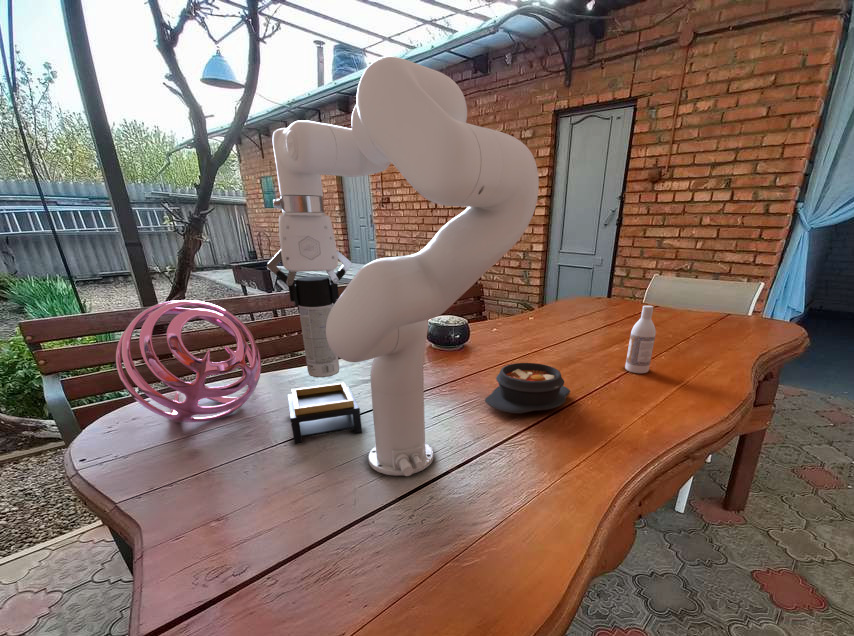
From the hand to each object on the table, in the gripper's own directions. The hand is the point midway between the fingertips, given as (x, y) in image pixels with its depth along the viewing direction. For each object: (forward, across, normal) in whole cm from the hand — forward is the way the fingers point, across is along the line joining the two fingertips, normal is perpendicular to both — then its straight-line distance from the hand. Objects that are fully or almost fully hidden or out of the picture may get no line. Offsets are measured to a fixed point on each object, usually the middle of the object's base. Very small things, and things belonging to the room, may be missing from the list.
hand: (315, 303), depth 86 cm
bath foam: (+28, +94, +4) cm, 98 cm away
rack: (+27, -1, 0) cm, 28 cm away
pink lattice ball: (+28, -26, +16) cm, 41 cm away
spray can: (+15, 0, 0) cm, 15 cm away
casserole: (+28, +49, -5) cm, 56 cm away
